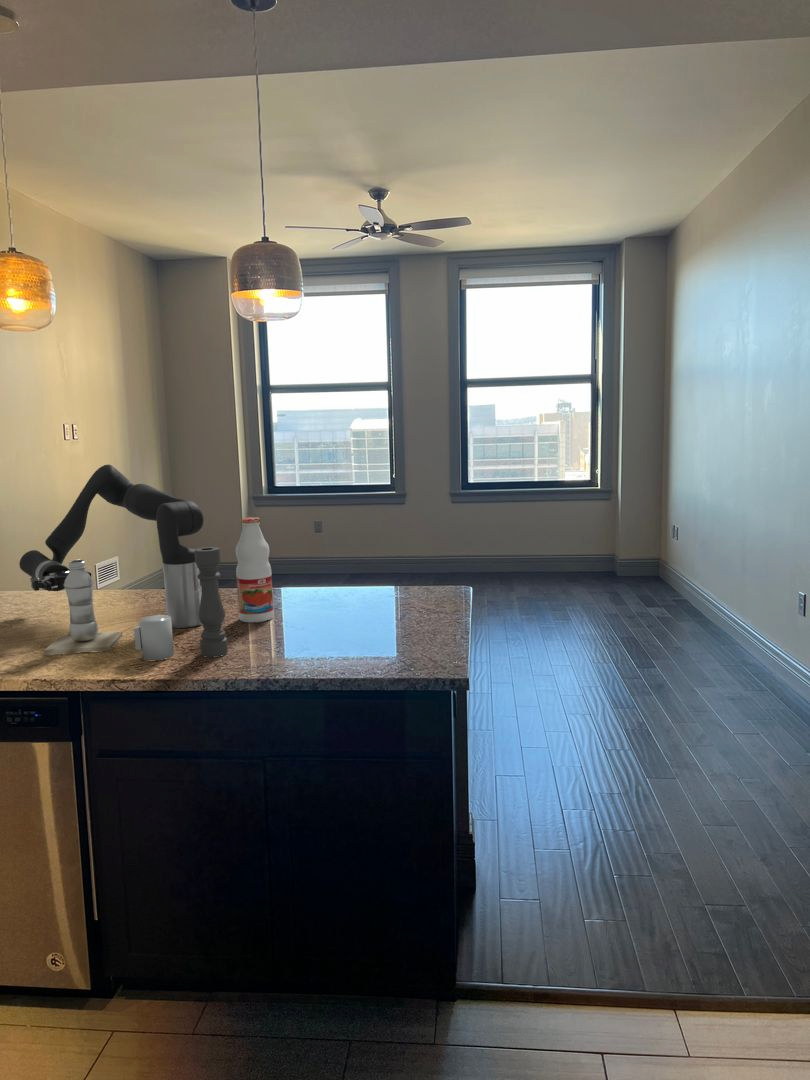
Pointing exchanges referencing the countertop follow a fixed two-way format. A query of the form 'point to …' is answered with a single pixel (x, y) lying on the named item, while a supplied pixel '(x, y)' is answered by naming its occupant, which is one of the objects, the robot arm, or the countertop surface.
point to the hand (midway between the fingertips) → (68, 584)
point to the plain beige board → (83, 644)
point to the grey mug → (154, 637)
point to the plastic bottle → (80, 602)
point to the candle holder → (210, 603)
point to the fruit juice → (253, 574)
